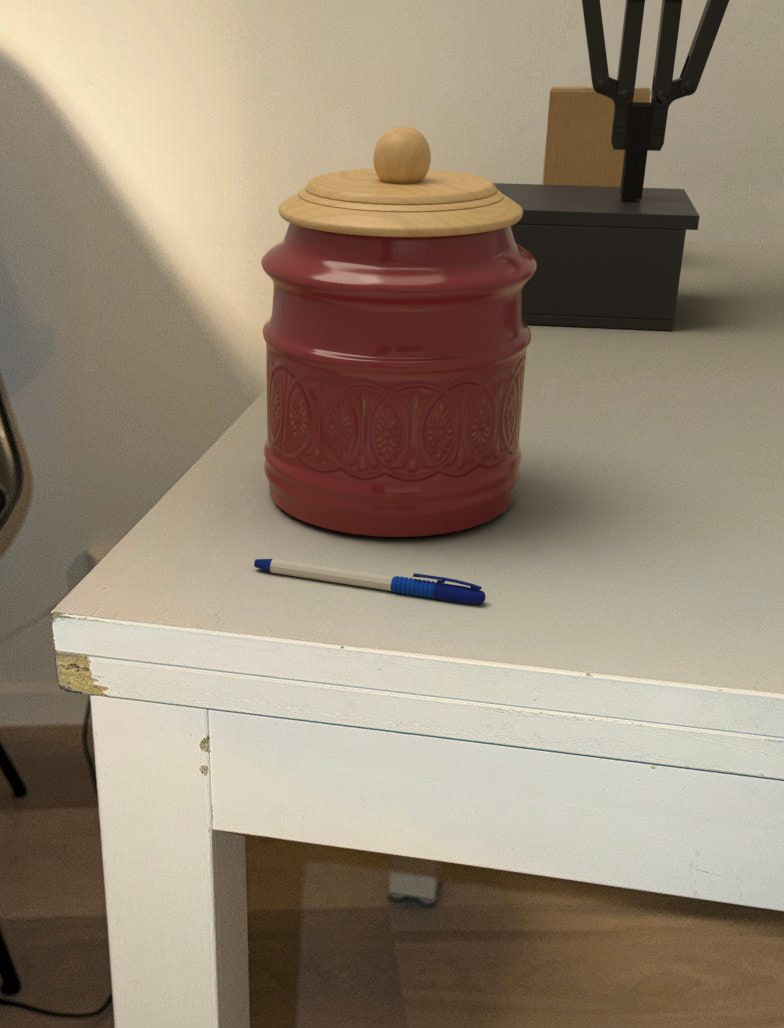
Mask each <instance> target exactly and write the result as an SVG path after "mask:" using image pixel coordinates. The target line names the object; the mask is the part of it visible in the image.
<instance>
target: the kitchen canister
mask: <svg viewBox="0 0 784 1028" xmlns="http://www.w3.org/2000/svg"><path fill="white" fill-rule="evenodd" d="M372 155H373V156H372V162H373V167H374V168H361V169H349V170H339V171H334V172H328V173H323V174H319V175H316V176H314V177H311V179H310V180H308V183H307V184H306V186H305V187H303V188H302V189H301V190H300V191H297V192H296V193H294V194H293V195H292V196H289V197H287V198H286V199H285V200H284V201H283V202H281V203H280V205H279V206H278V214H279V216H280V218H282V219H283V220H284V221H286V222H287V223H288V226H287V229H286V232H285V235H284V237H283V239H282V240H279V242H277V243H275V244H274V245H272V246H271V247H270V248H268V249H267V250H266V251H265V253H264V254H263V255H262V257H261V260H260V264H261V267H262V269H263V271H264V272H265V274H266V275H267V276H268V277H269V279H270V280H271V281H272V285H273V289H272V291H273V292H272V304H271V305H272V306H271V315H270V317H269V318H268V319H267V320H266V321H265V323H264V324H263V327H262V337H263V339H264V341H265V349H266V350H265V351H266V352H265V356H266V357H265V361H266V363H265V365H266V367H265V368H266V424H267V425H266V440H265V443H264V447H263V455H264V465H263V467H264V469H263V470H264V473H265V476H266V479H267V481H268V487H269V495H270V497H271V499H272V501H273V502H274V504H276V506H278V508H280V509H281V510H283V511H284V512H285V513H286V514H288V515H290V516H292V517H293V518H295V519H297V520H299V521H301V522H304V523H307V524H309V525H313V526H316V527H319V528H323V529H325V530H330V531H333V532H334V531H335V532H339V533H345V534H350V535H359V536H367V537H368V536H369V537H379V538H416V537H417V538H419V537H429V536H430V537H431V536H438V535H445V534H450V533H451V534H452V533H456V532H461V531H466V530H468V529H472V528H475V527H478V526H481V525H483V524H486V523H488V522H489V521H491V520H493V519H495V518H496V517H498V516H500V515H502V514H503V513H504V512H505V511H506V510H507V509H508V508H509V507H510V506H511V504H512V502H513V499H514V498H513V497H514V492H515V488H516V486H517V483H518V482H519V480H520V475H521V466H520V465H521V462H522V457H523V455H522V450H521V446H520V434H521V422H522V409H523V398H524V397H523V396H524V385H525V384H524V383H525V373H526V371H525V370H526V362H527V361H526V360H527V359H526V358H527V348H528V346H529V345H530V343H531V341H532V340H531V339H532V333H531V329H530V328H529V327H530V326H528V325H526V324H525V323H524V322H523V288H524V285H525V284H526V283H527V282H528V281H529V280H530V279H531V277H532V276H533V275H534V274H535V272H536V270H537V262H536V260H535V258H534V257H533V255H532V254H530V253H529V252H528V251H527V250H526V249H524V248H523V247H522V246H520V245H519V244H518V243H516V241H515V238H514V235H513V232H512V228H511V226H512V225H514V224H516V223H517V222H518V221H520V219H521V218H522V216H523V210H522V208H521V206H520V205H518V204H517V203H516V202H514V201H513V200H511V199H510V198H508V197H507V196H505V195H504V194H502V193H501V192H500V191H499V190H497V188H496V186H495V185H494V183H495V182H493V180H491V179H490V178H487V177H485V176H481V175H477V174H472V173H467V172H460V171H452V170H444V169H443V170H442V169H430V167H431V161H432V158H431V157H432V153H431V148H430V145H429V143H428V140H427V138H426V137H425V135H424V134H423V133H422V132H421V131H419V130H418V129H416V128H413V127H410V126H409V127H407V126H396V127H392V128H389V129H387V130H386V131H384V132H383V133H382V134H381V135H380V137H379V138H378V140H377V142H376V143H375V146H374V150H373V154H372Z"/></svg>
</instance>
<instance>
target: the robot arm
mask: <svg viewBox="0 0 784 1028" xmlns="http://www.w3.org/2000/svg"><path fill="white" fill-rule="evenodd" d="M729 2H730V0H706V2H705V5H704V8H703V10H702V14H701V16H700V19H699V22H698V24H697V28H696V31H695V33H694V36H693V39H692V42H691V44H690V47H689V50H688V53H687V54H686V55H687V56H686V57H685V61H684V64H683V66H682V69H681V72H680V75H679V77H678V78H676V79H674V71H675V64H676V63H675V62H676V56H677V47H678V39H679V32H680V24H681V15H682V8H683V0H661V8H660V17H659V24H658V33H657V41H656V50H655V57H654V66H653V67H654V68H653V74H652V75H653V76H652V82H651V83H652V84H651V94H650V102H633V97H634V90H635V87H636V81H637V72H638V63H639V57H640V56H639V55H640V47H641V39H642V31H643V30H642V29H643V21H644V13H645V6H646V0H625V5H624V15H623V21H622V31H621V33H622V34H621V42H620V48H619V49H620V50H619V57H618V58H619V60H618V67H617V68H618V69H617V77H616V78H613V77H611V76H610V73H609V64H608V56H607V47H606V40H605V39H606V38H605V31H604V23H603V15H602V5H601V0H581V7H582V15H583V21H584V30H585V38H586V46H587V55H588V61H589V62H588V63H589V69H590V77H591V78H590V79H591V86H593V88H594V91H595V92H596V93H599V94H602V95H604V96H606V97H609V98H611V99H612V100H613V101H614V115H613V124H612V134H611V143H612V146H613V150H625V153H624V162H623V171H622V179H621V188H620V195H621V198H622V199H642V192H643V188H644V184H645V175H646V169H647V168H646V166H647V159H648V151H650V152H651V151H653V152H660V151H661V150H662V149H663V146H664V144H665V139H666V138H665V137H666V129H667V123H668V114H669V108H670V106H671V104H672V103H673V102H674V101H676V100H679V99H681V98H685V97H689V96H693V94H695V93H696V91H697V90H698V87H699V84H700V81H701V78H702V76H703V73H704V70H705V68H706V66H707V62H708V60H709V57H710V55H711V52H712V49H713V46H714V43H715V41H716V38H717V35H718V34H719V33H718V32H719V30H720V27H721V25H722V22H723V19H724V17H725V13H726V12H727V7H728V6H729Z"/></svg>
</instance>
